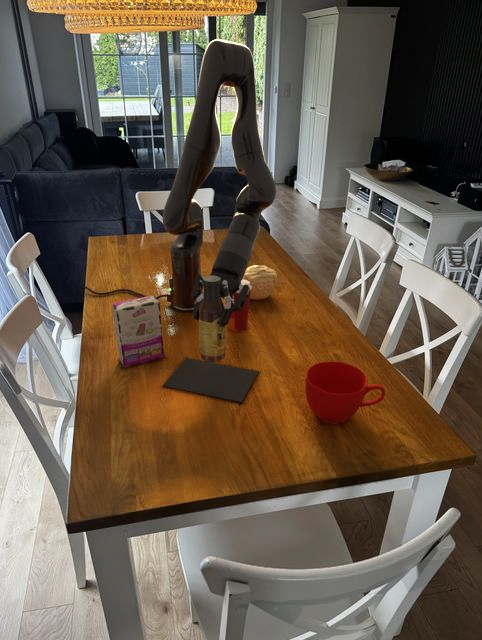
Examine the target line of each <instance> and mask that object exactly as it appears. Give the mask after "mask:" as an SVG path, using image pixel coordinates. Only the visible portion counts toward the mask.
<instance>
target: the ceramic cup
mask: <svg viewBox="0 0 482 640" xmlns="http://www.w3.org/2000/svg"><path fill="white" fill-rule="evenodd" d="M304 378H305V379H304V380H305V381H304V382H305V383H304V389H305V398H306V401H307V404H308V406H309V408H310V409H311V411H312V412H313V414H314V415H315V416H316V417H317V418H318V419H319V420H320V421H321V422H324V423H326V424H331V425H338V424H341V423H343V422H346V420H348V419H351V417H354V415H355V414H356V413H357V412H358V411H359V409H361V408H364V407H369V406H374V405H376V404H378V403H381V401H383V400H384V399H385V396H386V389H385V388H384V386H383V385H381V384H377V383H375V384H374V383H373V384H369V379H368V376H367V375H366V373H365V372H364V371H363V370H361V369H360V368H358V367H357V366H355V365H352V364H350V363H346V362H343V361H334V360H333V361H332V360H331V361H329V360H328V361H322V362H317V363H315V364H313V365H311V366H310V367H309V368H308V369H307V370H306V373H305V377H304ZM368 384H369V385H368ZM373 390H379V391H381V394H380V395H379V396H378V397H376V398H374V399H370V400H367V401H364V399H365V396H367V394H368V393H369V392H370V391H373Z"/></svg>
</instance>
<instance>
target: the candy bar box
mask: <svg viewBox="0 0 482 640" xmlns="http://www.w3.org/2000/svg"><path fill="white" fill-rule="evenodd" d="M146 296H147V295H146ZM111 308H112V315H113V322H114V329H115V336H116V343H117V351H118V359H119V361H120V362H121V365H122V366H123V367H124V368H129V367H133V366H137V365H140V364H146V363H149V362H153V361H156V360H160V359H164V358H165V348H164V337H163V326H162V314H161V303H160V301H159V299H156V296H155V294H154V295H153V294H152V295H148V296H147V297H142V296H141V297H138V298H137V297H136V298H132V299H126V300H123V301H122V300H121V301H117V302H112V303H111Z"/></svg>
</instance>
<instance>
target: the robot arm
mask: <svg viewBox="0 0 482 640" xmlns="http://www.w3.org/2000/svg"><path fill="white" fill-rule="evenodd" d="M222 87H225V88H226V87H227V88H231V89H232V88H233V90H234V93H235V97H236V103H237V108H236V114H235V117H234V120H233V124H232V128H231V134H230V143H231V149H232V154H233V158H234V163H235V164H234V165H235V168H236V170H237V172H238V173H239V174H240V175H243V176H245V178H246V181H247V185H246V186H245V187H243V189H242V190H241V191H240V193H239V194H238V196H237V198H236V201H235V206H234V210H233V217H232V220H231V223H230V225H229V227H228V230H227V232H226V234H225V237H224V238H223V240H222V242H221V244H220V247H219V249H218V252H217V255H216V258H215V260H214V262H213V265H212V268H211V272H210V274H209V275H208V276H218V277H220V278H221V285H220V294H221V299H223V300H224V301H225V302H224V303H225V304H224V306H225V309H224V310H223V313H222V315H221V318H220V320H219V325H220V326H221V327H225V325H226V326H228V323H229V320H230V317H231V315H232V313H233V312H236V311H238V312H241V311H242V309H243V307H244V305H245V303H246V301H247V299H248V297H249V295H250V293H251V289H250V288H249V286H248V285H242V284H241V280H242V279H243V277H244V274H245V271H246V269H247V268H248V267H249V263H250V262H251V260H252V259H251V258H252V256H253V251H254V247H255V244H256V243H257V239H258V237H259V234H260V231H261V223H260V221H259V220H260V216H261V215H262V213H263V211H265V210H266V209H267V208H269V207H271V206H273V204H274V203H275V201H276V200H277V199H276V198H277V184H276V181H275V179H274V177H273V173H272V172H271V169H270V167H269V166H268V164H267V162H266V160H265V155H264V154H265V153H264V150H263V145H262V144H263V143H262V139H261V135H260V129H259V121H258V109H257V108H258V107H257V90H256V89H257V88H256V71H255V62H254V57H253V54H252V51H251V49H250V48H249V47H247V45H245V44H242V43H239V42H238V43H237V42H233V41H229V40H224V39H214V40H212V41H210V42H209V44H208V45H207V47H206V49H205V52H204V54H203V57H202V62H201V67H200V72H199V78H198V84H197V90H196V96H195V100H194V105H193V109H192V113H191V118H190V121H189V125H188V128H187V133H186V135H185V138H184V143H183V147H182V150H181V155H180V160H179V163H178V166H177V170H176V174H175V176H174V180H173V183H172V186H171V189H170V192H169V194H168V196H167V199H166V201H165V204H164V207H163V211H162V223H163V227H164V229H165V231H166V233H168V234H169V235H172V236H176V239H174V241H173V242H171V244H170V247H169V254H170V255H169V256H170V272H171V273H170V274H171V277H170V278H169V279H168V282H169V288H168V291H169V292H168V293H166V294H160V295H158V296H155V298H156V299H157V300H159V299H161V298H166V302H168V303H170V307H171V308H174V309H175V310H177V311H182V312H192V313H191V315H192V318H193V319H194V320H195V321H198V322H199V305H200V303H201V301H202V300H203V298H204V296H203V294H204V286H203V278H204V277H205V276H202V262H201V261H202V259H201V250H202V248H203V243H204V213H203V209H202V207H201V205H200V203H199V202H198V201H197V200H196V199H194V197H195V195H196V193H197V191H198V190H199V189H200V187H201V186H202V184H203V183H204V182H205V181H206V179H207V178H208V176H209V175H210V174H211V172H212V170H213V169H214V167H215V164H216V162H217V158H218V155H219V152H220V149H221V144H222V136H221V135H222V134H221V130H220V126H219V122H218V121H219V120H218V117H217V103H218V98H219V94H220V91H221V88H222ZM84 289H86V290H88V291H89V292H90V293H91V294H93V295H96V296H105V295H112V294H114V293H119V292H129V293H132V294H134V295H136V296H140V297H141V298H142V297H147V295H145V294H143V293H139V292H137V291H135V290H133V289H129V288H117V289H114V290H110V291H105V292H97V291H95V290H93V289H91V288H90V287H88V286H85V285H84V286H81V288H80V289H79V290H80V291H84ZM239 289H240V290H239ZM238 290H239V293H240V294H239V296H238V298H237V300H236V302H235V304H234V296H233V294H234V293H236V292H237V291H238Z"/></svg>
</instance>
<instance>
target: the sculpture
mask: <svg viewBox="0 0 482 640" xmlns="http://www.w3.org/2000/svg"><path fill="white" fill-rule="evenodd" d="M243 279H244V280H247V281H249V282H250V285H251V287H252V289H251V293H250V300H254V301H260V300H261V301H262V300H265V299H267V298H269V296H271V294H272V293H273V291H274V290H275V288H276V287H277V284H278V283H277V281H278V275H277V271H276V270H275V269H272V268H270V267H268V266H266V265H265V264H263V265H251V266H248V267H247V269H246V271H245V274H244V277H243Z"/></svg>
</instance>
